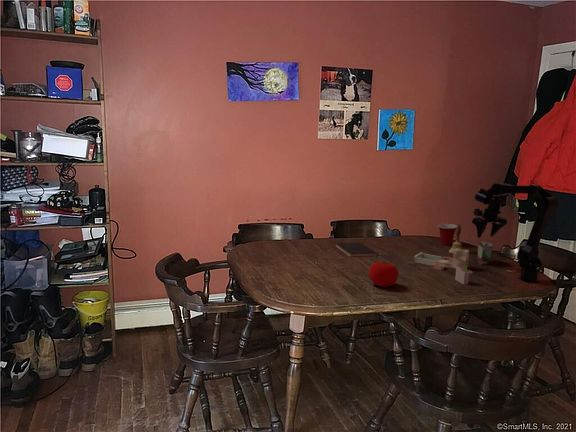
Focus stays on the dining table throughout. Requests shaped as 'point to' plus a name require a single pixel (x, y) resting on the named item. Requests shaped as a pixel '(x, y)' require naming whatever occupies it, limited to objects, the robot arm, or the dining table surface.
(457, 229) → the hand bell
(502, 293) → the dining table surface
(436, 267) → the trap bays
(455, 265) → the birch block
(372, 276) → the tomato
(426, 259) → the channel
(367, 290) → the dining table surface
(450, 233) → the plastic cup
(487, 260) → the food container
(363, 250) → the hardcover book
